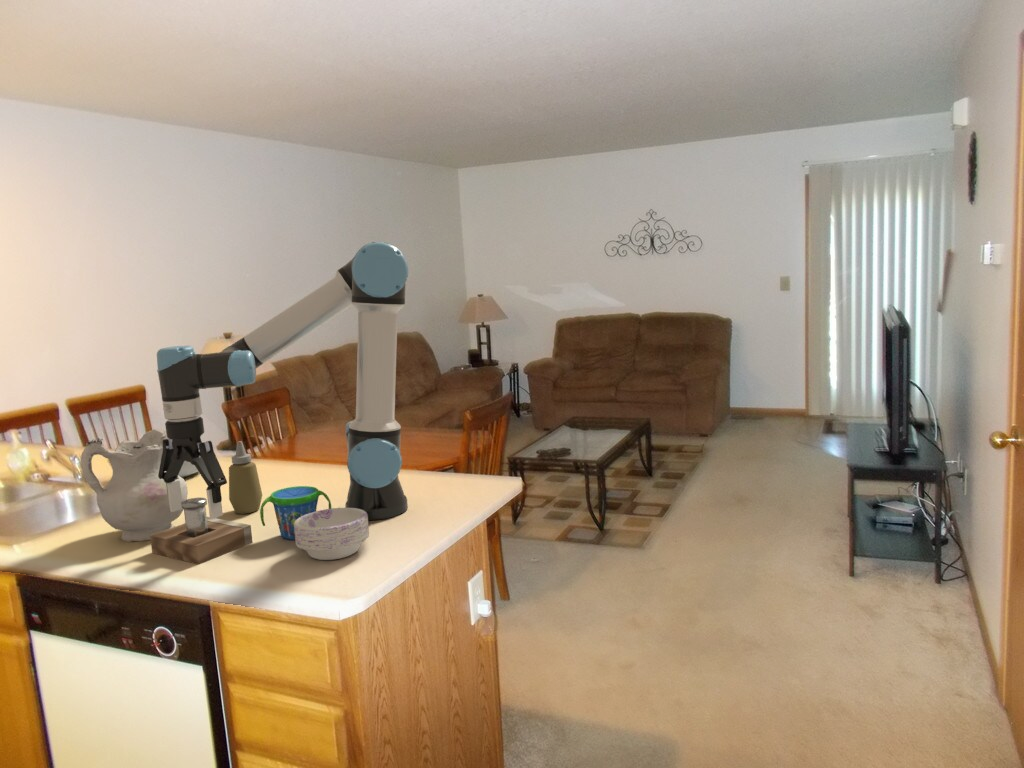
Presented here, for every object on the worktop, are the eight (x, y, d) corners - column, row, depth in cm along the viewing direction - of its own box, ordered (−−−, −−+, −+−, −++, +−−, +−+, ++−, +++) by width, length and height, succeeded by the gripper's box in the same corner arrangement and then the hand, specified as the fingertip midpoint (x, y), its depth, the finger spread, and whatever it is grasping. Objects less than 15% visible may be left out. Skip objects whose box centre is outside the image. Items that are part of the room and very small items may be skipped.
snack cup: (333, 523, 187) (329, 482, 185) (333, 538, 177) (329, 494, 175) (264, 532, 184) (260, 489, 182) (261, 547, 173) (256, 502, 172)
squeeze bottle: (254, 515, 196) (246, 445, 194) (224, 515, 198) (216, 445, 195) (269, 505, 204) (262, 437, 202) (241, 506, 206) (233, 438, 203)
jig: (252, 542, 177) (250, 525, 176) (198, 564, 165) (196, 545, 164) (206, 533, 185) (204, 516, 184) (152, 553, 173) (149, 535, 173)
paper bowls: (325, 537, 177) (322, 503, 176) (384, 543, 171) (381, 508, 170) (281, 562, 163) (277, 525, 162) (343, 569, 158) (340, 531, 156)
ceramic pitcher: (125, 560, 173) (117, 450, 169) (71, 542, 182) (62, 437, 178) (206, 529, 192) (201, 429, 187) (154, 515, 201) (147, 419, 196)
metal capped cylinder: (217, 547, 175) (211, 499, 173) (196, 554, 171) (191, 505, 169) (201, 543, 178) (196, 496, 176) (181, 551, 173) (175, 503, 172)
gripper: (133, 419, 173) (146, 512, 177) (206, 424, 160) (219, 525, 163) (163, 412, 180) (176, 502, 183) (236, 417, 166) (248, 514, 170)
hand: (196, 513), depth 173 cm, fingers open, 13 cm apart
